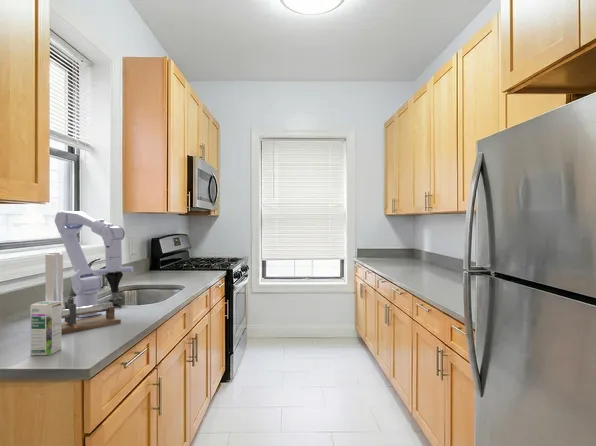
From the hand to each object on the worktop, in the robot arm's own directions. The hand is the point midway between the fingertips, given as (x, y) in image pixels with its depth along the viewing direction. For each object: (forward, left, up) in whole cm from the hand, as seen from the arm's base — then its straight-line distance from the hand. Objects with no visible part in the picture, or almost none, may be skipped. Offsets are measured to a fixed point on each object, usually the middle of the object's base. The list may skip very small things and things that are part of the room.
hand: (114, 291), depth 150 cm
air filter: (-36, -11, -11) cm, 39 cm away
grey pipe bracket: (+3, -16, -8) cm, 19 cm away
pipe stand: (+3, -12, -10) cm, 16 cm away
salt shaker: (-22, +9, -11) cm, 26 cm away
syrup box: (+26, -29, -11) cm, 40 cm away
